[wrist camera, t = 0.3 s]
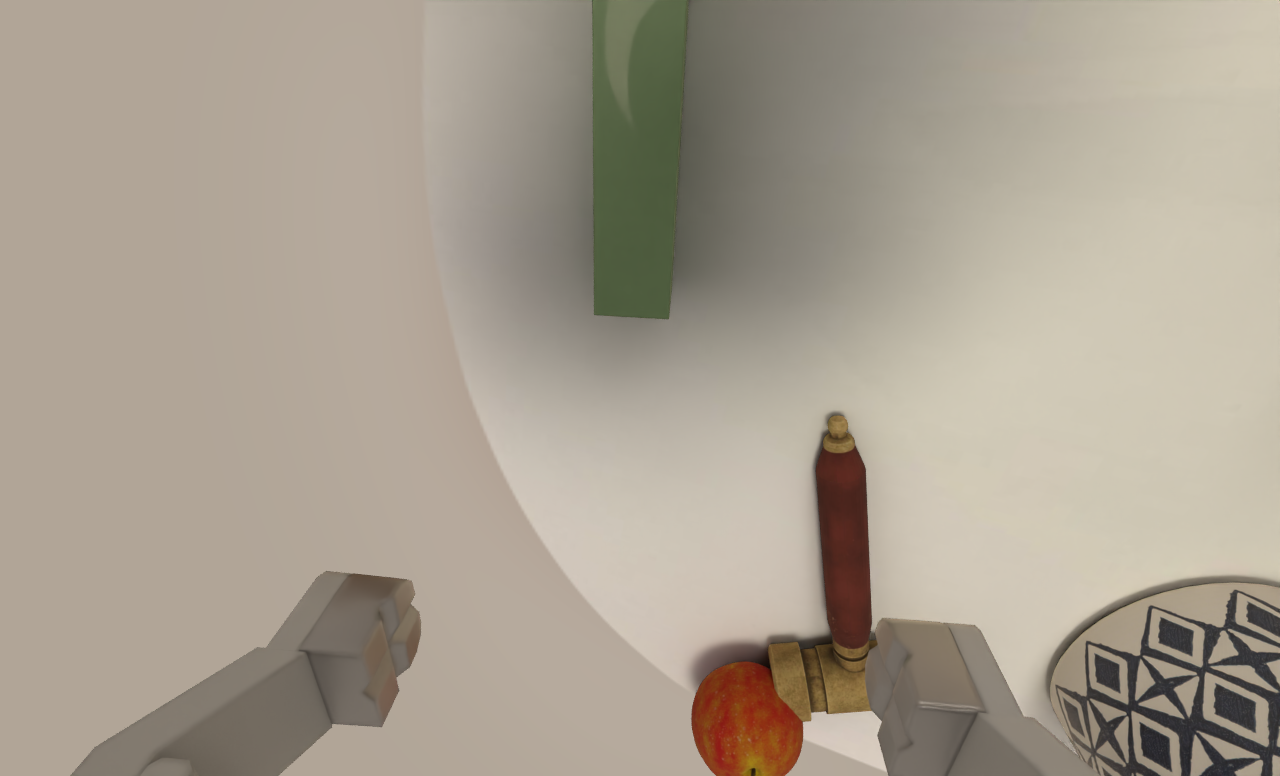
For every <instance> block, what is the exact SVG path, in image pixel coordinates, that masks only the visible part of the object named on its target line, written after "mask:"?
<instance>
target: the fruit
mask: <svg viewBox="0 0 1280 776" xmlns="http://www.w3.org/2000/svg"><path fill="white" fill-rule="evenodd" d="M692 730H693V735H694V740H695V743H696V746H697V749H698V751H699V753H700V755H701V757H702V758H703V760H704V762H705V763H706V765H707V766H708V767H709V769H710V770H711V771H712V772H713V773H714V774H715V775H716V776H785V775H786V774H787V773H788V772H789V771H790V770H791V769H792V768H793V766H794V765H795V763H796V762H797V760H798V757H799V755H800V752H801V748H802V742H803V722H802V721H801V719H800V718H799V717H798V716H797V715H796V714H795V713H794V711H793V710H792V709H791V708H790V707H789V706H788V705H787V704H786V703H785V702H784V701H783V700H782V699H781V698H780V697H779V696H778V694H777V692H776V690H775V688H774V682H773V676H772V671H771V669H769V668H767V667H765V666H763V665H760V664H757V663H754V662H746V661H744V662H736V663H731V664H728V665H725V666H722V667H720V668H718V669H716V670H714V671H713V672H711V673H710V674H709V675H708V676H707V677H706V678H705V679H704V680H703V682H702V683H701V685H700V686H699V688H698V690H697V692H696V695H695V698H694V702H693V706H692Z"/></svg>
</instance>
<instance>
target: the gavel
mask: <svg viewBox="0 0 1280 776" xmlns="http://www.w3.org/2000/svg"><path fill="white" fill-rule="evenodd" d="M847 429H848V423H847V420H846V419H845V418H844V417H843V416H839V415H837V416H832V417H831V418H830V419H829V421H828V430H829V431H830V433H829V434H827V435H826V436H825V438H824V439H823V448H822V451H821V454H820V457H819V460H818V463H817V466H816V480H817V492H818V505H819V518H820V530H821V543H822V556H823V568H824V581H825V594H826V606H827V619H828V624H829V627H830V630H831V633H832V638H833V644H826V645H815V646H814V648H811V649H800V648H799V645H798V642H790V643H779V644H770V646H769V648H768V654H769V662H770V669H771V671H772V676H773V682H774V688H775V690H776V692H777V694H778V696H779V697H780V698H781V699H782V700H783V701H784V702H785V703H786V704H787V705H788V706H789V707H790V708H791V709H792V710H793V711H794V713H795V714H796V715H797V716H798V717H799V718H800V719H801V721H802V722H805V721H811V712H823V711H826V712H827V714H835V713H848V712H861V711H872V710H871V709H870V705H869V701H868V697H867V692H866V685H865V664H866V660H867V657H868V653H869V650H871V649H872V648H874V647H875V646H877V645H878V643H877V640H871V641H869V635H870V630H871V625H872V613H871V588H870V564H869V539H868V515H867V490H866V468H865V465H864V463H863V461H862V459H861V457H860V455H859V452H858V450H857V448H856V446H855V440H854V438H853V437H852V435H851V434H849V433H847V432H846V431H847Z"/></svg>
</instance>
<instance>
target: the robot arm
mask: <svg viewBox="0 0 1280 776" xmlns="http://www.w3.org/2000/svg"><path fill="white" fill-rule="evenodd" d="M414 596H415V591H414V587H413V583H412V581H410V580H407V579H399V578H390V577H380V576H371V575H362V574H350V573H340V572H330V571H326V572H324V573H323V574H321V575H320V576H318V577H317V578H316V579H315V581H314V582H313V583H312V585H311V586H310V588H309V589H308V590H307V592H306V593H305V595H304V596H303V597H302V599H301V600H300V601H299V603H298V604H297V606H296V607H295V608H294V610H293V611H292V612H291V614H290V615H289V617H288V618H287V620H286V621H285V622H284V624H283V625H282V626H281V628H280V629H279V630H278V632H277V633H276V635H275V636H274V637H273V639H272V640H271V641H270V643H269V644H268V646H267V647H266V648H259V647H257V648H256V649H254V650H252V651H251V652H249V653H247V654H246V655H244V656H243V657H241V658H239V659H238V660H236V661H234V662H233V663H231V664H230V665H228V666H226V667H225V668H223V669H222V670H220V671H218V672H216V673H215V674H213V675H212V676H210V677H209V678H207V679H205V680H203V681H202V682H200V683H199V684H197V685H195V686H194V687H192V688H190V689H189V690H187V691H186V692H184V693H182V694H181V695H179V696H178V697H176V698H175V699H173V700H171V701H169V702H168V703H166V704H164V705H163V706H161V707H160V708H158V709H156V710H155V711H153V712H151V713H150V714H148V715H147V716H145V717H143V718H142V719H140V720H138V721H137V722H135V723H134V724H132V725H130V726H129V727H127V728H125V729H124V730H122V731H121V732H119V733H117V734H116V735H114V736H112V737H111V738H109V739H107V740H106V741H104V742H103V743H101V744H99V745H98V746H96V747H95V748H94V749H93V750H92V751H91V752H90V754H89V755H88V756H87V757H86V758H85V759H84V761H83V762H82V763H81V764H80V765H79V766H78V767H77V769H76V770H75V771H74V772H73V773H72V775H71V776H278V775H280V773H282V772H283V771H284V770H285V769H286V768H287V767H288V766H289V765H291V763H293V762H294V761H295V760H296V759H297V758H298V757H299V756H301V754H303V753H304V752H305V751H306V750H307V749H308V748H309V747H311V746H312V745H313V744H314V743H315V742H316V741H317V740H318V739H319V738H320V737H321V736H323V735H324V734H325V733H326V732H327V731H328V730H329V729H330V728H332V724H343V725H358V726H373V727H382V726H383V724H384V722H385V719H386V717H387V715H388V713H389V711H390V709H391V707H392V705H393V702H394V700H395V698H396V696H397V694H398V692H399V688H398V684H397V680H396V677H398V676H399V675H400V674H401V673H403V672H404V671H405V670H407V669H408V668H409V667H410V666H411V664H412V661H413V659H414V657H415V654H416V652H417V648H418V644H419V640H420V635H421V619H420V614H419V612H418V611H417V610H416V609H415V608H414V607H413V606H412V605H411V602H412V600H413V598H414ZM875 636H876V639H877V643H878V645H877V646H875V647H874V648H872V649H871V650H869V653H868V657H867V660H866V664H865V685H866V692H867V697H868V701H869V705H870V709H871V710H872V711H873V712H874V713H875V714H876V715H877V716H878V718H879V719H880V720H881V721H882V723H881V726H880V729H879V732H878V735H877V736H878V739H879V743H880V747H881V750H882V754H883V758H884V761H885V765H886V768H887V772H888V775H889V776H1101V775H1099V774H1098V773H1097V772H1096V771H1095V770H1094V769H1092V768H1091V767H1090V766H1089V765H1088V764H1087V763H1086V762H1084V761H1083V760H1082V759H1081V758H1080V757H1079V756H1077V755H1076V754H1075V753H1074V752H1073V751H1072V750H1070V749H1069V748H1068V747H1067V746H1066V745H1065V744H1063V743H1062V742H1061V741H1060V740H1059V739H1058V738H1056V737H1055V736H1054V735H1053V734H1052V733H1051V732H1049V731H1048V730H1047V729H1046V728H1045V727H1044V726H1043V725H1041V724H1040V723H1039V722H1038V721H1037V720H1036V719H1034V718H1031V717H1024V716H1023V714H1022V712H1021V710H1020V708H1019V706H1018V704H1017V702H1016V700H1015V698H1014V696H1013V694H1012V692H1011V690H1010V688H1009V686H1008V684H1007V682H1006V680H1005V678H1004V676H1003V674H1002V672H1001V670H1000V668H999V666H998V664H997V662H996V660H995V658H994V656H993V654H992V652H991V650H990V648H989V646H988V644H987V642H986V640H985V638H984V636H983V634H982V632H981V630H979V629H978V628H977V627H976V626H975V625H966V624H954V623H941V622H932V621H918V620H904V619H890V618H882V619H881V620H880V621H879V622H878V624H877V627H876V630H875Z"/></svg>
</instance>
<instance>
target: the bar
mask: <svg viewBox="0 0 1280 776" xmlns="http://www.w3.org/2000/svg"><path fill="white" fill-rule="evenodd" d="M688 6H689V0H592V19H593V215H594V315H604V316H621V317H638V318H655V319H669V313H670V303H671V293H672V280H673V263H674V246H675V228H676V211H677V194H678V177H679V160H680V143H681V126H682V109H683V92H684V75H685V58H686V41H687V24H688Z"/></svg>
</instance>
